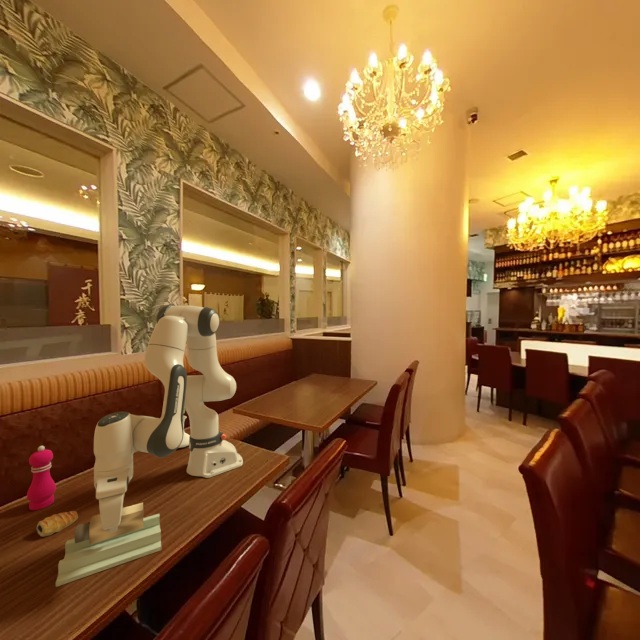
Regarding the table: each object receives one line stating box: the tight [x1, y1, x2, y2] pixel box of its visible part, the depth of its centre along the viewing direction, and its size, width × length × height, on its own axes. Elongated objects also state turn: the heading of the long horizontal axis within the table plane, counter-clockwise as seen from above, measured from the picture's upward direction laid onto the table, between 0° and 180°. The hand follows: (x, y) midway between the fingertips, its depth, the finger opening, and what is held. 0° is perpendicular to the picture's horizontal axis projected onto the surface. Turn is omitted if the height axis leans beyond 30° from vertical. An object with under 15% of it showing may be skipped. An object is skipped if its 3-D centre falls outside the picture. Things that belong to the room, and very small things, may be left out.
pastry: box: [36, 510, 79, 537], centre depth 91 cm, size 9×7×4 cm
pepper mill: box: [26, 445, 57, 511], centre depth 102 cm, size 7×7×20 cm
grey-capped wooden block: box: [74, 502, 144, 544], centre depth 82 cm, size 15×4×5 cm, turn 121°
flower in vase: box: [177, 408, 191, 449], centre depth 148 cm, size 13×11×25 cm
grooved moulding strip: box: [55, 513, 162, 588], centre depth 82 cm, size 22×14×4 cm, turn 120°
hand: (114, 524), depth 82 cm, fingers closed on grey-capped wooden block, 4 cm apart
